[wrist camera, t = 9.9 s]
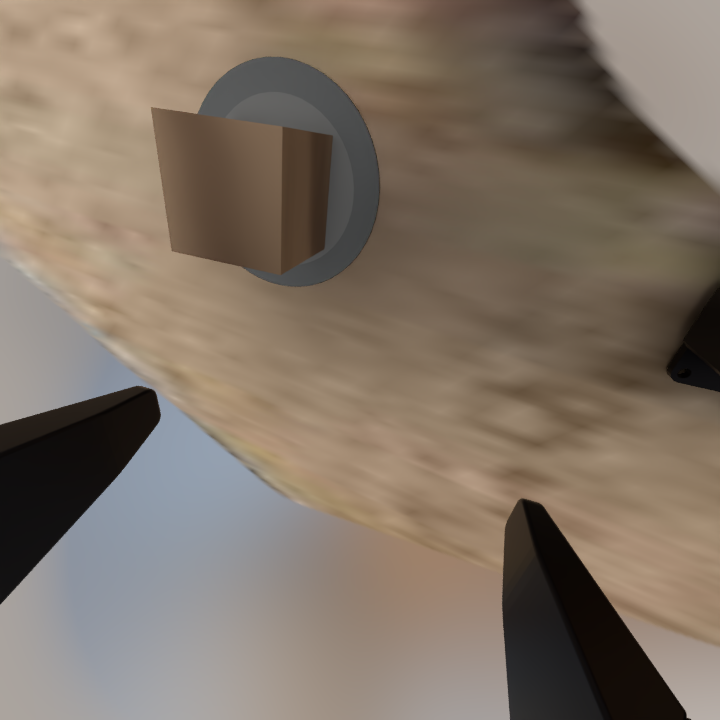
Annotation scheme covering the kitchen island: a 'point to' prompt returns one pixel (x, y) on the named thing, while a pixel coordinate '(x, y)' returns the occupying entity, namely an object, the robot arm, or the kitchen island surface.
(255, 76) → the slate coaster
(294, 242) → the walnut block
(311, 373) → the kitchen island surface
